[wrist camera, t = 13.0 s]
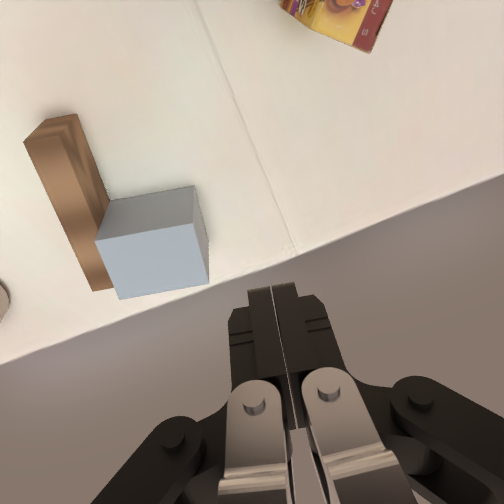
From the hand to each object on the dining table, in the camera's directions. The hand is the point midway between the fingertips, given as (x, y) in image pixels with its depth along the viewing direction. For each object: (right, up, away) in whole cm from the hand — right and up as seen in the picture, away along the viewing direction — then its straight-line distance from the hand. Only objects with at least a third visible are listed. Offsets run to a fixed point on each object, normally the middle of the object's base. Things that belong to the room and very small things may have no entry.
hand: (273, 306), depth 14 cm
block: (-11, +5, +34) cm, 36 cm away
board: (-17, +8, +32) cm, 37 cm away
